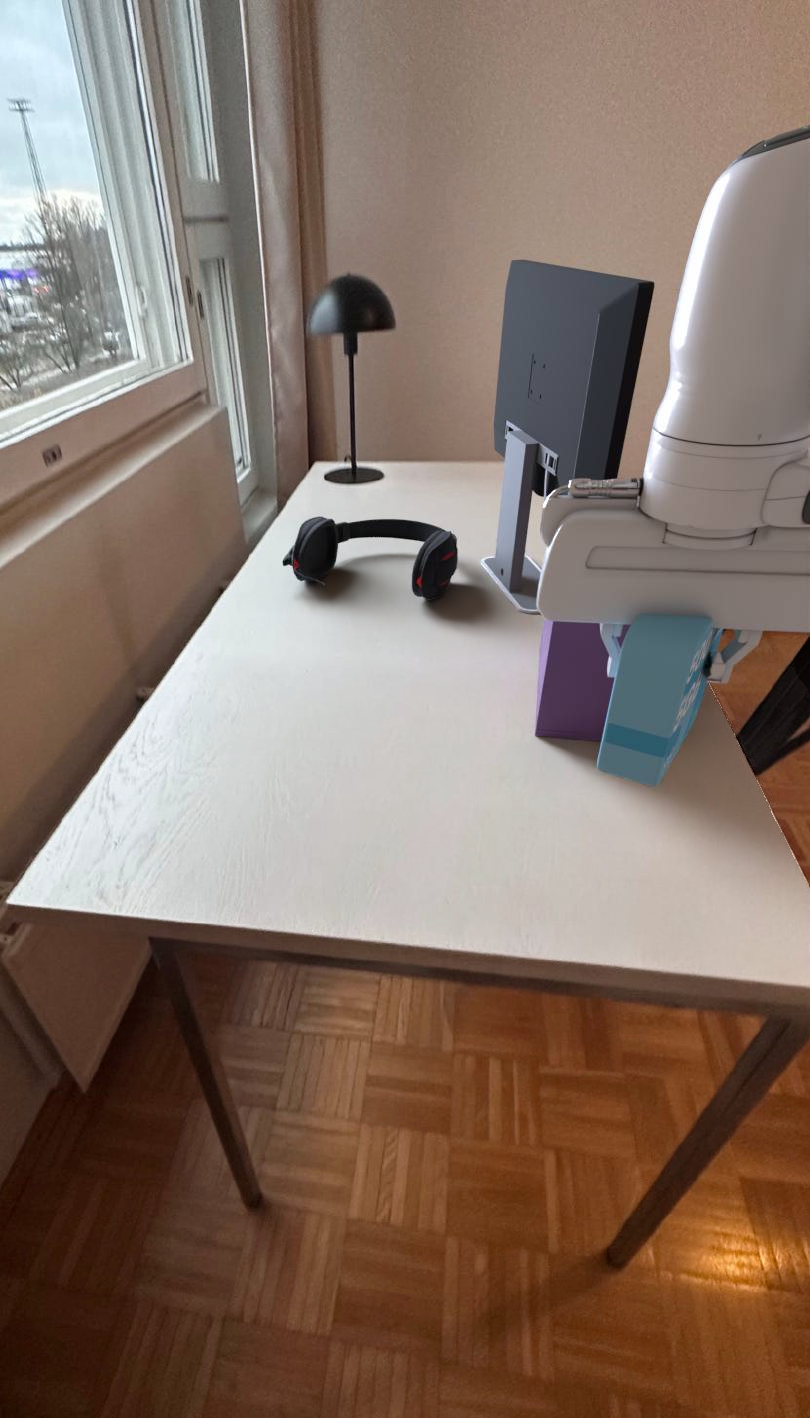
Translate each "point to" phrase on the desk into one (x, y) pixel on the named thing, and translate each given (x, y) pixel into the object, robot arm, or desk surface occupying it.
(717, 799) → the desk surface
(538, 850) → the desk surface
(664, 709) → the light blue rounded block
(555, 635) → the file box
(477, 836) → the desk surface
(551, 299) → the computer monitor
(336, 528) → the headset
